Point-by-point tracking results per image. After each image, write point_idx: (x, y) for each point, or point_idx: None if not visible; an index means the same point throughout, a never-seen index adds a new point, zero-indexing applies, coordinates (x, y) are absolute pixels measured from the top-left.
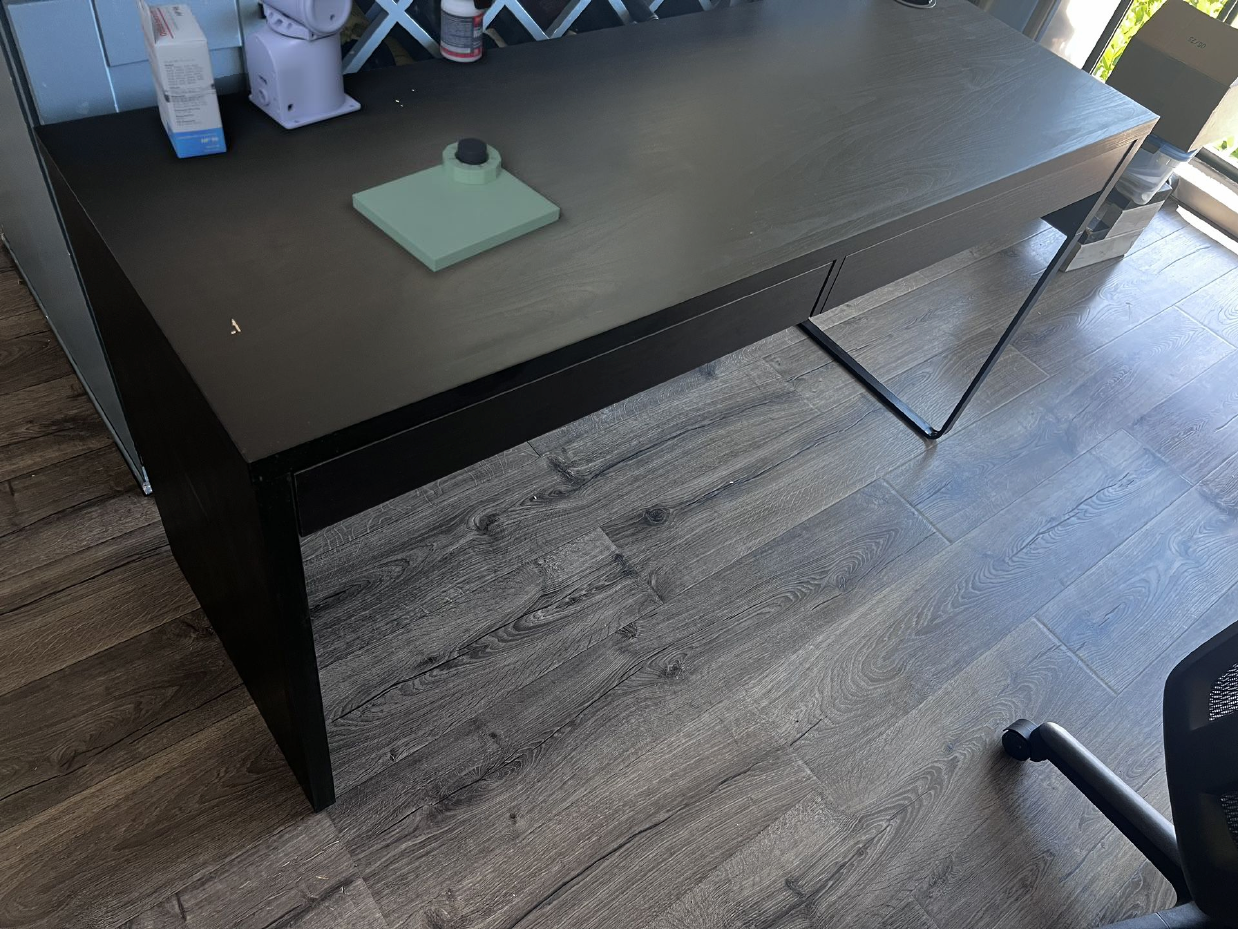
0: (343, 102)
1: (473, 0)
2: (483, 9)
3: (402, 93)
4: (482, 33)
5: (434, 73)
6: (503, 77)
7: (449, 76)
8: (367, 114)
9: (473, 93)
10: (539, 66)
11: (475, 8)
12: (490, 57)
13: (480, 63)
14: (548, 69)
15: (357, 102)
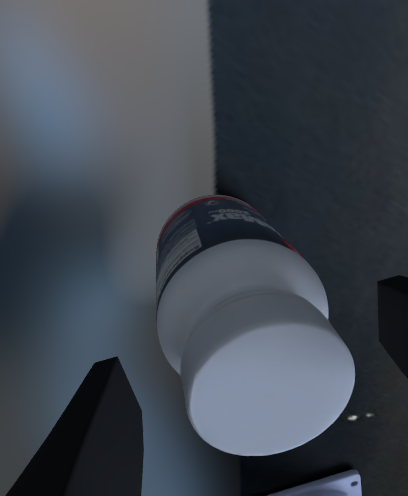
0: (342, 493)
1: (401, 369)
2: (290, 250)
3: None
4: (266, 223)
5: None
6: (362, 191)
7: None
8: (367, 460)
9: None
10: (353, 44)
11: (326, 307)
12: (252, 176)
13: (274, 218)
14: (381, 22)
15: (347, 476)
